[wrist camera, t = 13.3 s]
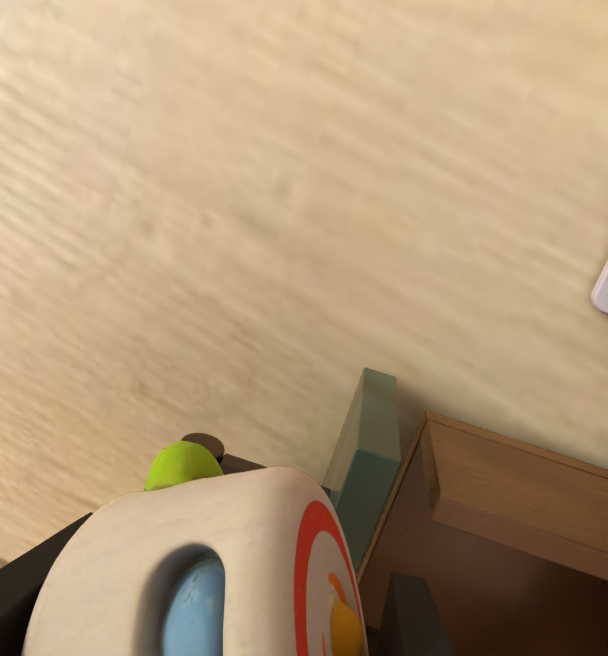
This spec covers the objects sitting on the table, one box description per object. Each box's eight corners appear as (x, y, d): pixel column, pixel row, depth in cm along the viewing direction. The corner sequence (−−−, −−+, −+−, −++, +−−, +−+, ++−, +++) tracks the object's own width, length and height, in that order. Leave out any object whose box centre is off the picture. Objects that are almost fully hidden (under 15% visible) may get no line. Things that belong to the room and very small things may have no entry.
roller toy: (329, 391, 10) (271, 634, 5) (402, 641, 12) (421, 1041, 6) (134, 432, 11) (-98, 675, 6) (224, 660, 13) (107, 1024, 7)
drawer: (172, 564, 23) (104, 691, 17) (235, 324, 19) (175, 386, 13) (625, 725, 21) (708, 915, 16) (781, 502, 18) (957, 648, 12)
